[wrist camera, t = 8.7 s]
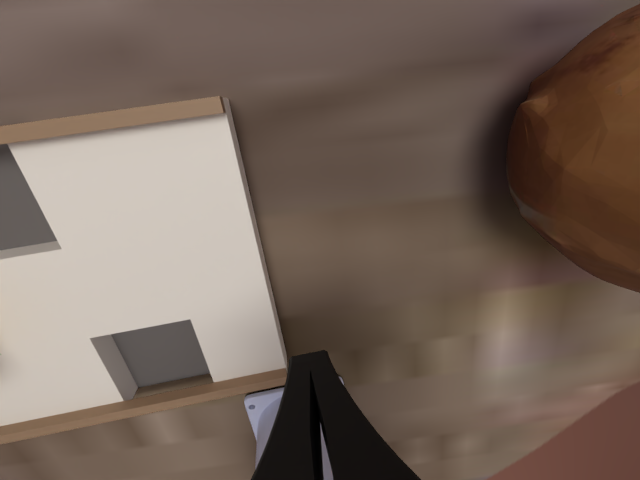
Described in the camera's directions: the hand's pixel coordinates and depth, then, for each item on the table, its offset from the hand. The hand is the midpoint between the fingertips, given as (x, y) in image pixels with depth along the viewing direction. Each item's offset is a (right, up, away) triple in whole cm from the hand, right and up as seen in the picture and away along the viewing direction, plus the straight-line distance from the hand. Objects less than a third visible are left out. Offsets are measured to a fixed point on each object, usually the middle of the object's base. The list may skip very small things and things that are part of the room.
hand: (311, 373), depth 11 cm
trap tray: (-14, +2, +8) cm, 16 cm away
